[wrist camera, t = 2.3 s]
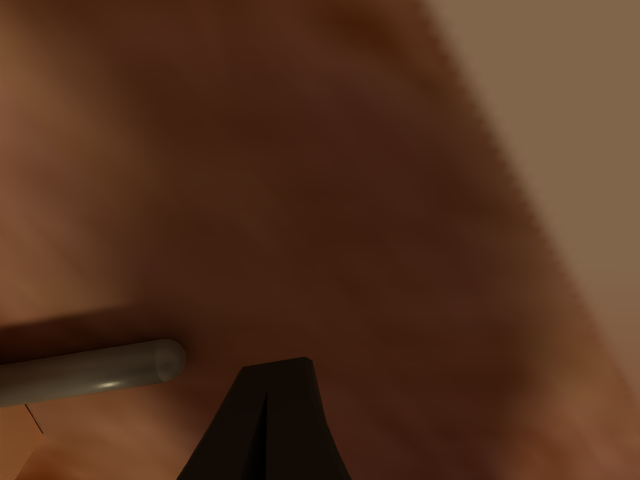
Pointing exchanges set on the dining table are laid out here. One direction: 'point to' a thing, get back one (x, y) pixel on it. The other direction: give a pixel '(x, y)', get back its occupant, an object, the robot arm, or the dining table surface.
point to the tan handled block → (74, 387)
